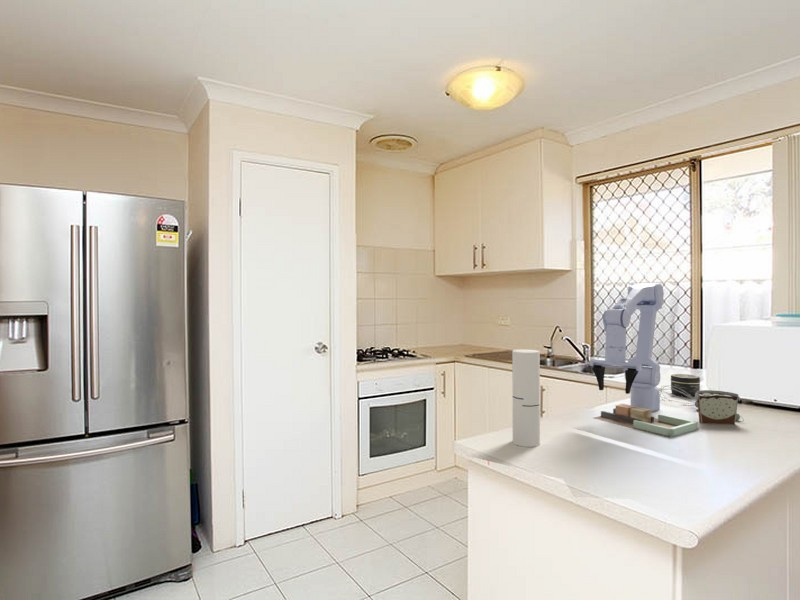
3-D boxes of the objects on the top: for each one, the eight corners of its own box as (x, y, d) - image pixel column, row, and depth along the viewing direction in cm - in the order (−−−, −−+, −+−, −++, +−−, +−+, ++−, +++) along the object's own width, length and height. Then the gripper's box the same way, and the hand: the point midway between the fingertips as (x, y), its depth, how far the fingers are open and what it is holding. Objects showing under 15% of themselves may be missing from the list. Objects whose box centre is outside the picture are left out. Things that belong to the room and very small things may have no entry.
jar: (705, 395, 183) (705, 376, 183) (691, 398, 178) (691, 378, 178) (679, 391, 191) (679, 372, 191) (665, 394, 186) (665, 375, 186)
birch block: (638, 419, 144) (638, 406, 144) (650, 422, 141) (650, 409, 141) (630, 421, 142) (630, 408, 142) (643, 424, 139) (643, 411, 139)
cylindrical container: (519, 437, 131) (519, 348, 130) (544, 442, 126) (543, 350, 126) (508, 443, 125) (507, 351, 125) (533, 448, 121) (533, 353, 120)
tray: (659, 420, 144) (659, 413, 144) (697, 428, 134) (697, 422, 134) (633, 427, 136) (633, 420, 136) (671, 436, 127) (671, 429, 127)
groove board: (622, 414, 155) (622, 406, 155) (699, 431, 135) (699, 423, 135) (592, 421, 147) (592, 413, 147) (669, 441, 126) (669, 432, 126)
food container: (727, 421, 145) (727, 390, 145) (740, 427, 139) (740, 394, 139) (686, 421, 146) (686, 389, 146) (696, 426, 140) (696, 393, 140)
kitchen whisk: (735, 424, 144) (735, 403, 144) (653, 400, 177) (653, 384, 177) (751, 422, 145) (751, 402, 145) (667, 399, 178) (667, 383, 178)
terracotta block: (623, 416, 149) (623, 403, 149) (635, 419, 145) (635, 406, 145) (615, 417, 147) (615, 405, 147) (627, 420, 143) (627, 408, 143)
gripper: (586, 345, 145) (585, 389, 144) (637, 349, 135) (636, 396, 135) (594, 345, 150) (593, 387, 149) (643, 349, 140) (642, 394, 140)
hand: (614, 391), depth 142 cm, fingers open, 7 cm apart
